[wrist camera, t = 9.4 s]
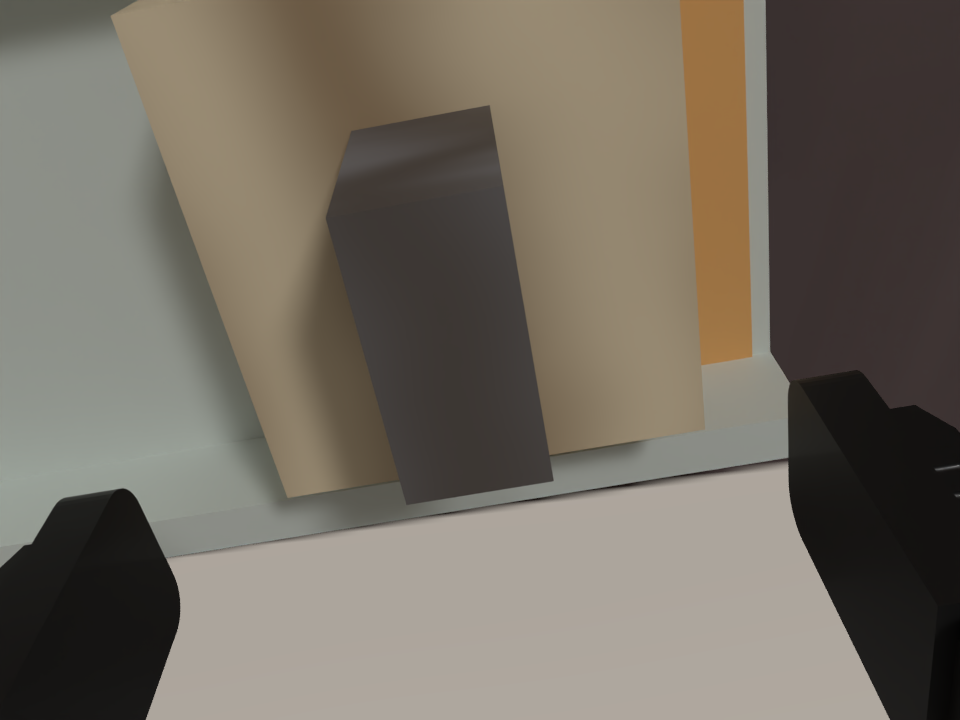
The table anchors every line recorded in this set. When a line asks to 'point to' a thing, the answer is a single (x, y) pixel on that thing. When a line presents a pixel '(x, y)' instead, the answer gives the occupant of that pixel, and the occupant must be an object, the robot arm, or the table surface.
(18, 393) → the bay
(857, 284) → the table surface
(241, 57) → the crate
